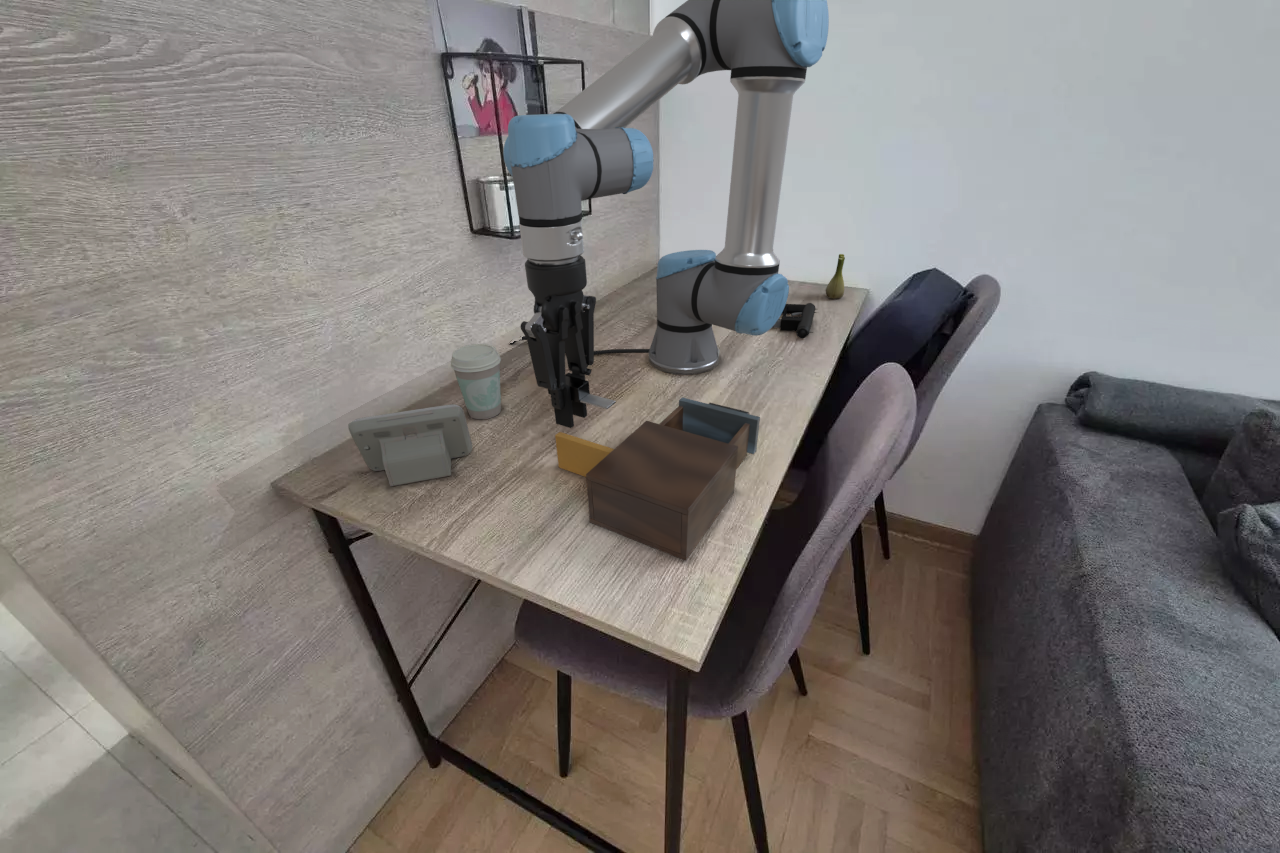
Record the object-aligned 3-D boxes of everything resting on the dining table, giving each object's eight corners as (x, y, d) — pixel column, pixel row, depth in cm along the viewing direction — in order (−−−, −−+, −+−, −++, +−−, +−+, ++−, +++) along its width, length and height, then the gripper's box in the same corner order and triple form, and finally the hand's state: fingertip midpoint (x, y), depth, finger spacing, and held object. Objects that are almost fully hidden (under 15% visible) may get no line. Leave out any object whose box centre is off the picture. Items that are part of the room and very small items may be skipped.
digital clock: (478, 449, 90) (466, 392, 84) (468, 481, 82) (455, 421, 77) (377, 456, 89) (358, 398, 83) (358, 489, 81) (336, 428, 76)
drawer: (692, 418, 96) (693, 386, 93) (766, 437, 90) (770, 404, 87) (637, 473, 82) (636, 438, 79) (720, 501, 76) (722, 464, 73)
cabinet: (646, 464, 85) (646, 420, 81) (734, 493, 79) (738, 446, 75) (589, 522, 74) (585, 474, 70) (686, 561, 67) (688, 510, 63)
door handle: (744, 324, 130) (814, 328, 125) (758, 299, 146) (820, 301, 141) (744, 337, 132) (813, 341, 127) (757, 311, 148) (819, 314, 143)
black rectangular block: (548, 394, 78) (546, 380, 77) (559, 386, 80) (557, 373, 79) (606, 410, 73) (605, 395, 72) (616, 402, 75) (615, 387, 74)
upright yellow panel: (558, 467, 85) (554, 435, 82) (563, 463, 86) (559, 431, 83) (612, 486, 81) (610, 453, 78) (616, 482, 82) (614, 449, 78)
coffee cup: (461, 426, 96) (447, 364, 90) (461, 404, 103) (449, 345, 97) (510, 419, 98) (500, 358, 92) (507, 398, 105) (498, 340, 99)
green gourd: (835, 302, 151) (843, 258, 145) (820, 298, 154) (827, 255, 148) (846, 297, 154) (854, 254, 148) (831, 293, 158) (838, 251, 151)
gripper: (537, 277, 60) (559, 453, 72) (614, 246, 72) (621, 402, 84) (487, 269, 64) (516, 438, 76) (568, 241, 75) (582, 392, 87)
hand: (571, 419), depth 80 cm, fingers closed on black rectangular block, 3 cm apart
